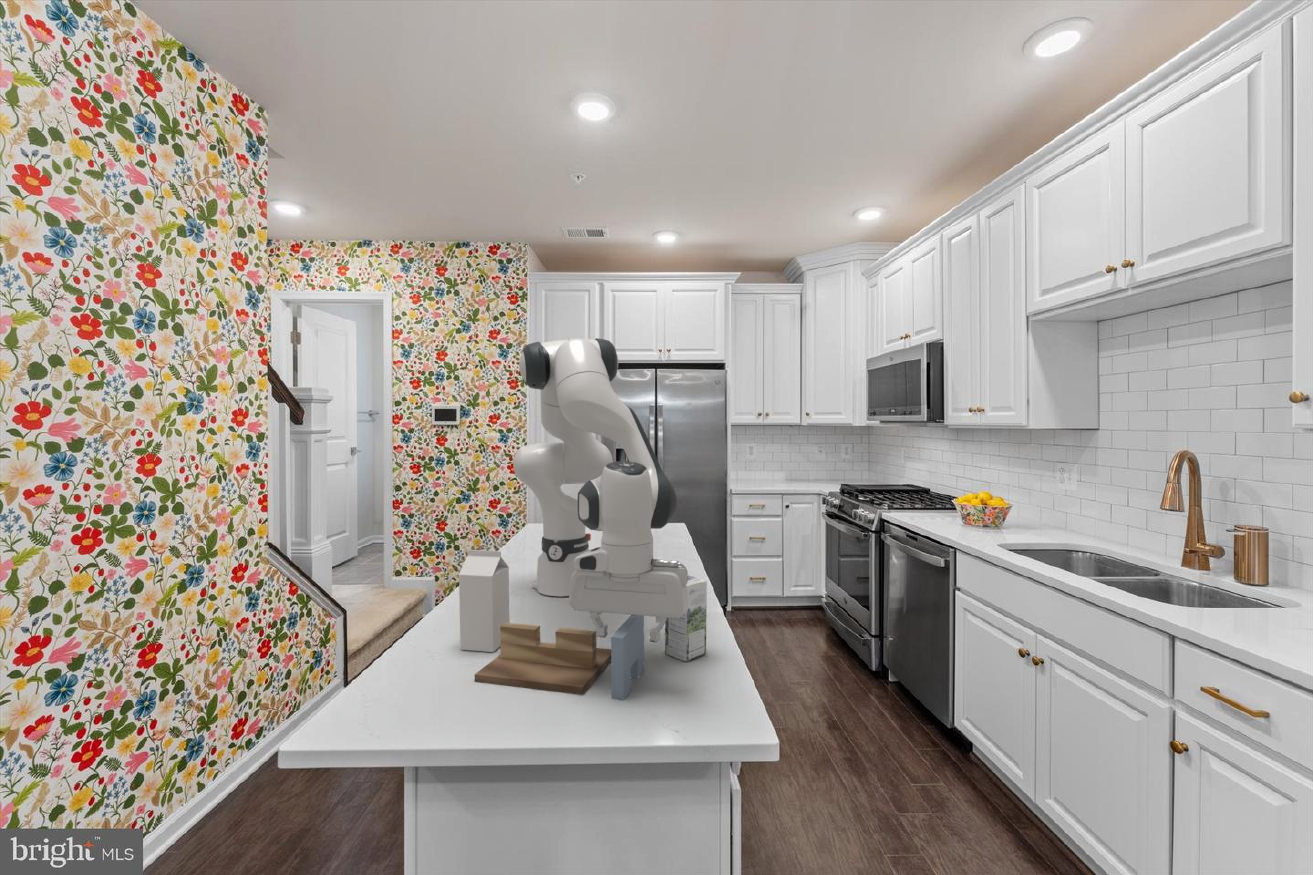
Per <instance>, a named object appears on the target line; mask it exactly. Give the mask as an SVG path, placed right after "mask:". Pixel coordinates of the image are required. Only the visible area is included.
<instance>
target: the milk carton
mask: <svg viewBox="0 0 1313 875" xmlns="http://www.w3.org/2000/svg"><path fill="white" fill-rule="evenodd" d="M509 570H510V568H509V565H508V564H507V563H506V561H505V560H504V559H503V557H502V552H501V550H499V551H497V550H478V549H477V550H475V549H468V550H467V556H466V559H465V561H464V562H463V564H462V566H461V569H460V572H459V573H458V586H459V587H458V588H459V591H458V594H459V596H458V597H459V598H458V599H459V642H460V643H459V644H460V646H459V647H460V648H459V650H462V651H471V652H472V651H473V652H474V651H476V652H487V653H488V652H489V653H494V652H495V651H497V650H498V649H499V648H501V646H500V626H502V625H503V624H505V623H511V622H510V578H509V577H510V572H509Z"/></svg>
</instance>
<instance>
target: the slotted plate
mask: <svg viewBox="0 0 1313 875" xmlns="http://www.w3.org/2000/svg"><path fill="white" fill-rule="evenodd" d="M610 645H611V646H610V649H611V661H610V663H611V666H610V667H611V670H610V671H611V672H610V673H611V699H615V700H622V701H623V700H625V698H626V696H627V695H628V694H629V692H630V690H631V689H632V679H633V678H634V679H639V677H640V676H641V674H642V673H643V671H644V670H645V616H641V615H630V616H629V617H627V619H626V620H625V621H624V622H623V623H622V624H621V625H620V627H619V628H618V629H617V630H616V631H615V632H614V633H613V634H612V635H611V636H610Z"/></svg>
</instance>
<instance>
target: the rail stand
mask: <svg viewBox="0 0 1313 875" xmlns="http://www.w3.org/2000/svg"><path fill="white" fill-rule="evenodd" d="M608 663H609V664H610V663H611V648H610V649H609V648H602V647H597V636H596V630H590V629H588V630H587V629H578V628H567V627H559V628H558V629H556V631H555V642H554V643H553V642H545V641H544V642H543V641H541V626H540V625H534V624H526V623H525V624H523V623H514V622H510V623H505V624H503V625H502V626H500V654H499V655H498V656H497V657H495V658H494V659H493V660H491V661H490V662H489V663H487V664H486V665H485V666H483V667H482V668H481V669H479V670H478V671H477V672H476V673H475V674H474V682H477V683H478V682H479V683H485V684H486V683H487V684H493V685H502V686H509V687H517V688H526V689H535V690H541V691H551V692H558V693H559V692H560V693H567V694H576V695H584V694H585V692H587V690H588V689H589V688H590V686H592V684H593V683H594V682H595V681H596V680H597V678H598V677H599V676H600V675H601V673H602V672H603V671H604V670H605V668H606V667H607V666H608V665H609V664H608Z"/></svg>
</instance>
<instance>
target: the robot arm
mask: <svg viewBox="0 0 1313 875" xmlns="http://www.w3.org/2000/svg"><path fill="white" fill-rule="evenodd" d="M518 362H519V363H518V365H519V372H520V375H521V377H522V379H523V381H524V382H523V383H524V384H525V385H526V386H528V387H529V388H530V389H534V390H540V421H541V425H542V427H543V429H544V430H545V432H547V433H548V434H549V435H550V436H552V437H554V438H557V439H558V440H560V441H562V442H536V443H531V444H526V445H523V446H521V447H519V449H517V451H516V453H515V455H514V458H513V461H512V464H513V467H512V468H513V471H514V474H515V476H516V478H518V480H519V481H520V482H521V483H523V484H525V485H526V486H527V487H528V488H529V489H530V490H531V491H532V492H533V493H534V495H535V497H536V498H537V500H538V502H539V506H540V509H541V516H542V529H543V530H542V534H543V536H542V537H541V543H540V545H541V551H542V553H541V554H540V555H539V556H538V558H537V567H536V580H535V581H534V582H532V586H531V587H532V588H533V589H535V590H537V592H538V593H540V594H541V595H544V596H550V597H569V598H568V599H569V606H570V608H572V610H574V611H578V612H579V611H580V612H581V611H582V612H589V618H590V620H591V622H592V624H593V625H594V627H595V631H596V638H604V639H605V638H606V637H607V636H608V635H609V631H608V629H609V626H608V624H604V622H603V621H602V618H601V617H600V615H601V614H602V613H604V614H605V613H606V614H607V613H608V614H617V615H620V614H621V615H630V616H631V615H641V616H644V617H655V623H656V624H658V625H657V626H656V628H651V630H650V631H649V633H648V635H649V636H648V637H649V642H650V643H658V644H659V643H660V641H661V630H662V629H663V627H664V626H665V622H666V620H667V618H681V617H682V616H683V615H684V613H685V612H686V610H687V594H686V587H685V586H686V584H687V581H688V575H689V574H688V573H689V572H688V569H687V567H686V566H685V565H684V564H683V563H681V562H679V560H675V559H672V560H666V559H657V558H655V559H654V536H653V533H652V529H654V530H655V529H658V530H659V529H660V530H661V529H662V528H664V527H665V526H666V525H668V523H669V522H670V521H671V520H672V519H673V517H674V515H675V514H676V512H677V510H678V509H677V508H678V499H677V494H676V490H675V488H674V486H673V484H672V483H671V481H670V480H669V478H668V476H666V474H665V472H664V471H663V469H662V466H661V464H660V462H659V460H658V458H657V455H656V453H655V452H654V449H653V446H652V445H651V442H650V441H649V439H648V437H647V436H648V435H647V434H646V432H645V429H644V427H643V426H642V423H641V421H640V420H639V417H638V416H637V414H636V412H635V410H634V409H632V408H631V407H629V406H628V405H626V403H624V402H623V401H622V400H621V399H620V398H619V396H618V395H617V393H616V392H615V391H614V389H613V386H612V385H611V383H612V381H613V380H614V379H615V378H616V377H617V373H618V369H619V357H618V353H617V350H616V347H615V346H614V344H613V343H612V342H611V341H610V340H607V339H604V338H594V339H592V338H567V339H558V340H557V339H556V340H551V341H545V342H544V341H542V342H541V341H535V342H532V343H528V344H526V345H525V346H524V347H523V349H522V350H521V354H520V357H519V361H518ZM593 434H596V435H599V436H601V437H604V438H607V439H609V440H611V441H613V442H615V443H616V444H617V445H619V446H620V447H621V448H622V449H623V451H624V452H625V455H626V457H627V460H628V461H627V460H622V461H621V460H619V461H614V459H613V456H612V453H611V451H610V450H609V448H608V447H607V446H606V445H605V444H604V443H602V442H600V441H599V440H598V439H597V438H596V437H595V436H594V435H593ZM571 484H572V485H574V484H575V485H577V484H578V485H579V484H583V485H582V487H581V488H580V489H579V491H578V492H577V499H576V498H574V497H572V496H570V495H568V494H566V493H564V492H563V490H562V488H561V486H562V485H571ZM586 528H588V530H591V531H597V532H602V536H601V539H600V545H601V546H598V547H594V548H592V549H590V548H589V547H590V545H589V542H591V539H592V534H591V533H586Z"/></svg>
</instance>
